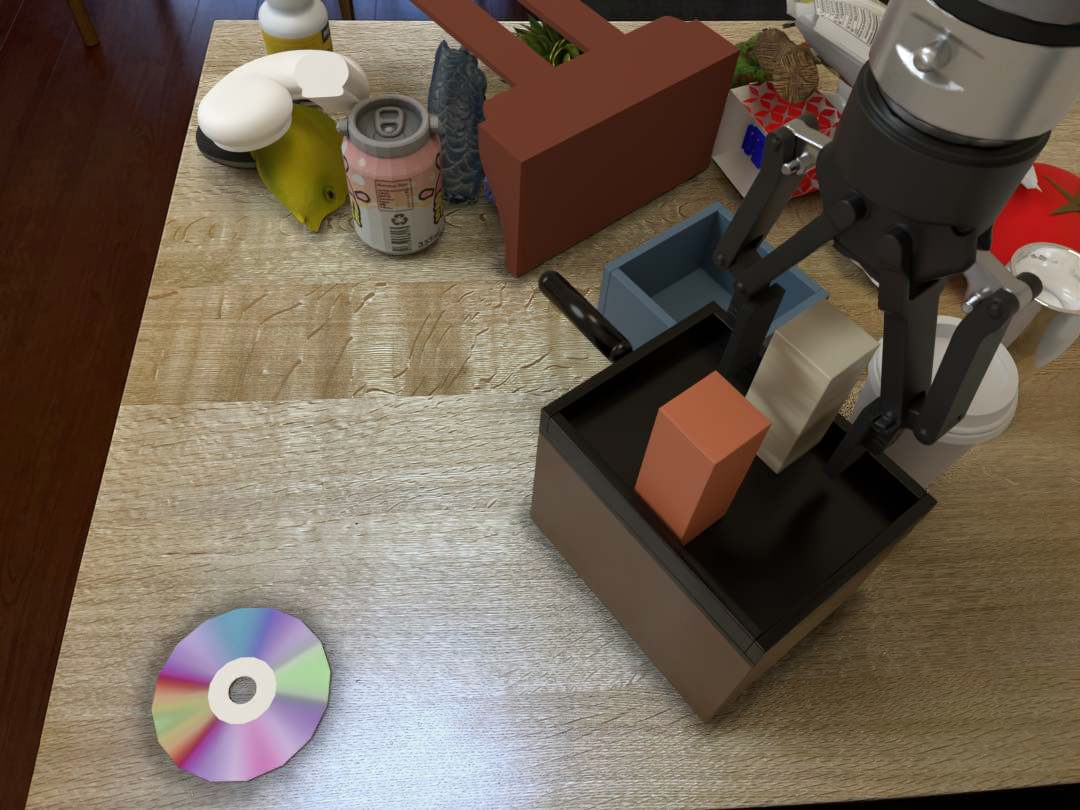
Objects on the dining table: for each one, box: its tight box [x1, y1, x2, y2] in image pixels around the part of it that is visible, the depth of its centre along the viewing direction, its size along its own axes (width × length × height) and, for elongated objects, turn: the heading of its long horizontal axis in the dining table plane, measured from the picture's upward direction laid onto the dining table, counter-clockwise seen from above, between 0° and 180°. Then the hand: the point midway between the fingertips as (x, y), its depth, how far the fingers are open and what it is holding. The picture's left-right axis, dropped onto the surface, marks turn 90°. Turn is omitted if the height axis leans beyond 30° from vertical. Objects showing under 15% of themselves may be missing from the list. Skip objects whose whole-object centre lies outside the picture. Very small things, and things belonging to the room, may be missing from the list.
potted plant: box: [495, 12, 584, 89], centre depth 84 cm, size 12×13×15 cm
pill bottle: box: [257, 0, 334, 107], centre depth 85 cm, size 6×6×12 cm
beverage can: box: [336, 93, 446, 256], centre depth 75 cm, size 9×8×12 cm
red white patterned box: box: [711, 81, 841, 199], centre depth 83 cm, size 8×8×8 cm
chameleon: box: [729, 20, 822, 103], centre depth 86 cm, size 7×30×16 cm
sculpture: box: [196, 50, 371, 152], centre depth 73 cm, size 12×15×8 cm
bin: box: [596, 200, 831, 351], centre depth 72 cm, size 13×13×8 cm
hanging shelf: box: [408, 0, 740, 278], centre depth 82 cm, size 24×13×30 cm
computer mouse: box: [195, 99, 300, 172], centre depth 83 cm, size 7×12×4 cm, turn 159°
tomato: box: [990, 162, 1080, 265], centre depth 76 cm, size 14×13×10 cm
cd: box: [151, 607, 332, 783], centre depth 57 cm, size 11×11×1 cm
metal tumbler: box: [1001, 242, 1080, 387], centre depth 67 cm, size 7×7×15 cm
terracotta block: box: [634, 371, 772, 546], centre depth 47 cm, size 4×4×10 cm
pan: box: [529, 269, 939, 725], centre depth 59 cm, size 28×15×15 cm, turn 38°
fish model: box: [427, 38, 488, 206], centre depth 85 cm, size 7×21×5 cm, turn 4°
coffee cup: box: [847, 314, 1019, 489], centre depth 62 cm, size 10×10×15 cm
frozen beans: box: [786, 0, 1042, 192], centre depth 75 cm, size 21×6×25 cm
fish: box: [250, 100, 349, 233], centre depth 81 cm, size 3×16×10 cm
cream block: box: [745, 298, 880, 474], centre depth 51 cm, size 4×4×10 cm
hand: (787, 412), depth 52 cm, fingers open, 8 cm apart
